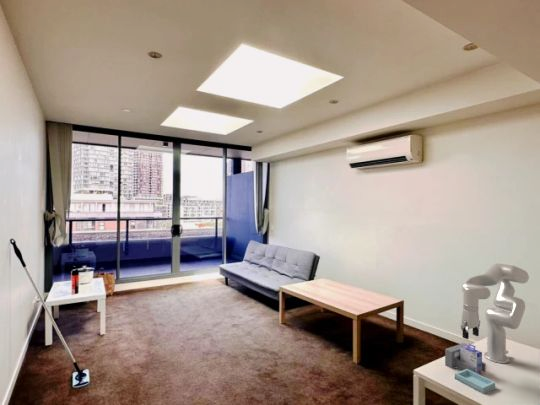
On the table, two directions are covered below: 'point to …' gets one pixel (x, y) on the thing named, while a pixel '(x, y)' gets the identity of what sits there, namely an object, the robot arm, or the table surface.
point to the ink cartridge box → (472, 357)
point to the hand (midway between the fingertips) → (470, 336)
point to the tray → (475, 381)
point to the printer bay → (458, 359)
